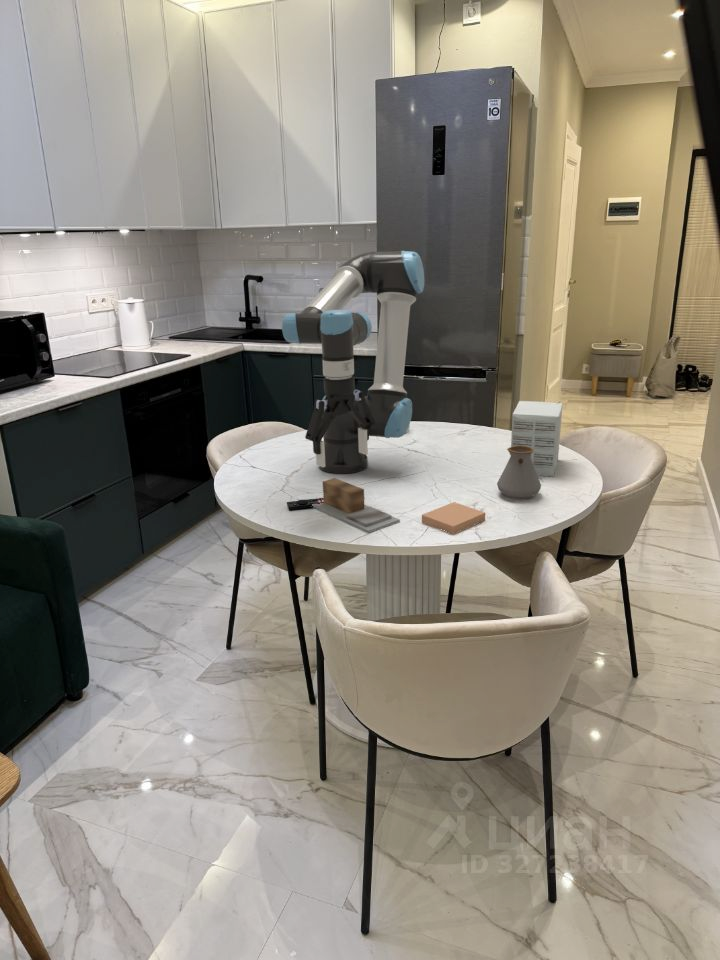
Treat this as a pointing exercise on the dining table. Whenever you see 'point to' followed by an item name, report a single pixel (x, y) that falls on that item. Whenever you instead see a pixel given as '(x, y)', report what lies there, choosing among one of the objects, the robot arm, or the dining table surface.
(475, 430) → the dining table surface
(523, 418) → the supplement box
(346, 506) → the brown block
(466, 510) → the tile
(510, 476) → the coffee pot
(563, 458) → the dining table surface
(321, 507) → the rest mat
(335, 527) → the dining table surface
